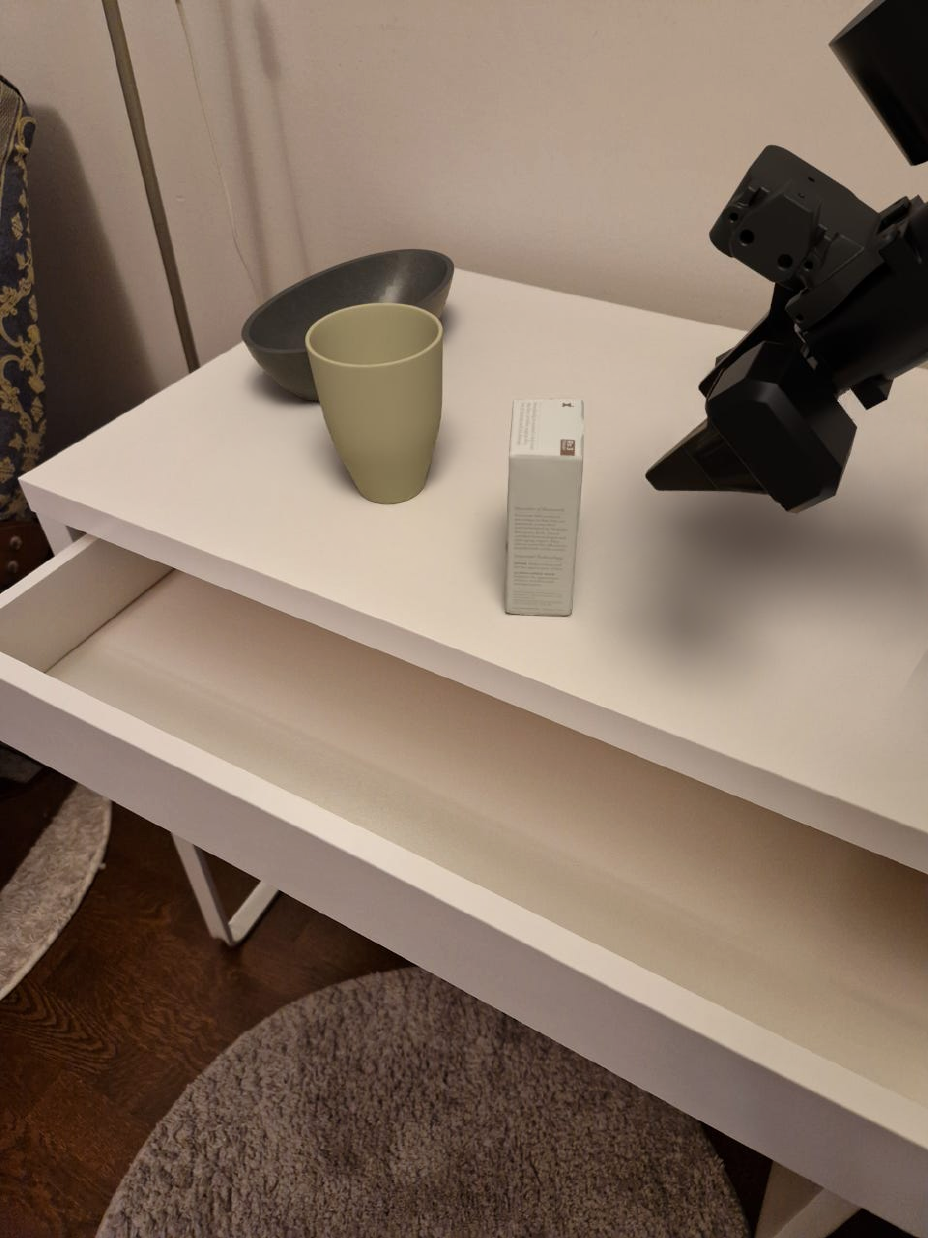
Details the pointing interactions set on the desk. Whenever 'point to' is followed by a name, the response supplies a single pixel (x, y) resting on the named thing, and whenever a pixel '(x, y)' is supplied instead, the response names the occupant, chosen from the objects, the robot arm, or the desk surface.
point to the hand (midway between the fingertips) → (678, 434)
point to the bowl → (340, 307)
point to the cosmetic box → (543, 505)
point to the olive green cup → (380, 393)
